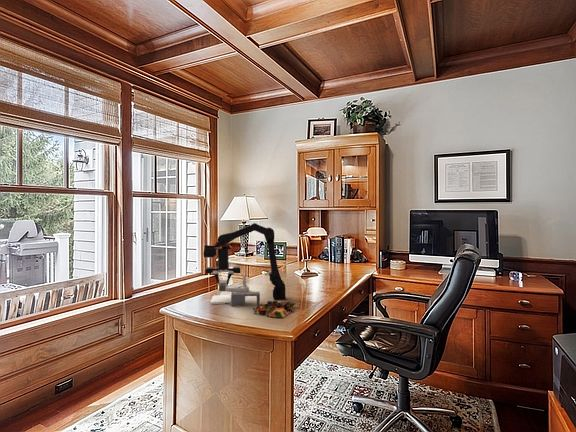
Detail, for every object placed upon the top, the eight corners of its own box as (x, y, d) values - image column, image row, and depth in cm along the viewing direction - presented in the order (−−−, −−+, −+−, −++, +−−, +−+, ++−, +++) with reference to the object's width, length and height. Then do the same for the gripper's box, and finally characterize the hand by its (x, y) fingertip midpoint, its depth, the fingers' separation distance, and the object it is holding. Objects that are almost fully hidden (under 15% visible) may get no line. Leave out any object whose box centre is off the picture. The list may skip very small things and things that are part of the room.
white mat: (234, 296, 197) (234, 295, 197) (233, 303, 183) (233, 301, 183) (212, 297, 195) (212, 295, 195) (210, 304, 182) (210, 302, 181)
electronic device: (226, 274, 215) (249, 274, 213) (226, 290, 216) (250, 290, 213) (223, 276, 210) (247, 276, 207) (223, 292, 210) (247, 292, 208)
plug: (227, 286, 194) (227, 279, 194) (226, 291, 182) (226, 283, 182) (219, 286, 193) (219, 279, 193) (218, 291, 181) (218, 283, 181)
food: (268, 304, 184) (268, 297, 184) (301, 308, 177) (301, 301, 177) (248, 315, 163) (248, 308, 163) (285, 321, 156) (285, 313, 156)
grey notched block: (259, 302, 184) (259, 291, 184) (259, 305, 179) (259, 293, 179) (231, 303, 182) (231, 292, 182) (231, 306, 177) (231, 294, 177)
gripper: (240, 255, 199) (240, 282, 200) (207, 255, 197) (207, 283, 197) (240, 257, 188) (240, 286, 189) (205, 258, 186) (205, 287, 186)
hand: (223, 285), depth 191 cm, fingers closed on plug, 4 cm apart
